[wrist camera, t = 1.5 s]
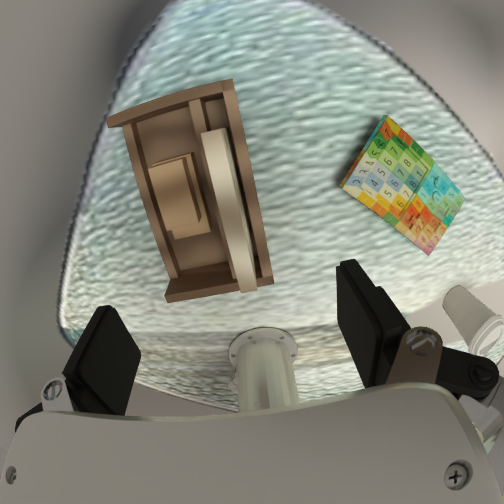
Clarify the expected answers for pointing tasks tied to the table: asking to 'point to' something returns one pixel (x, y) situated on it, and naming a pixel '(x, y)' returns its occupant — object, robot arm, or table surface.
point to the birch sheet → (231, 205)
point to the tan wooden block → (181, 196)
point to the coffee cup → (473, 320)
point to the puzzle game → (403, 186)
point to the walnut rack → (189, 140)
